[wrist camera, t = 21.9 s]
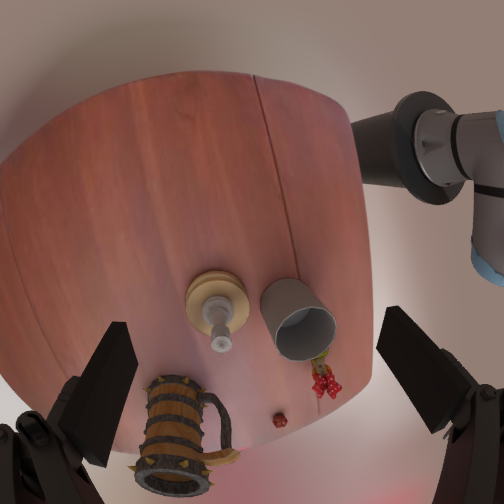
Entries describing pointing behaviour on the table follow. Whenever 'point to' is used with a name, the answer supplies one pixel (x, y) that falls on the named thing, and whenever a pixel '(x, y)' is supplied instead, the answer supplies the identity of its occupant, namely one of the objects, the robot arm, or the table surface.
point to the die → (280, 421)
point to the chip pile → (212, 286)
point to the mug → (179, 439)
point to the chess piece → (219, 321)
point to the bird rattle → (324, 378)
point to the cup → (297, 320)
